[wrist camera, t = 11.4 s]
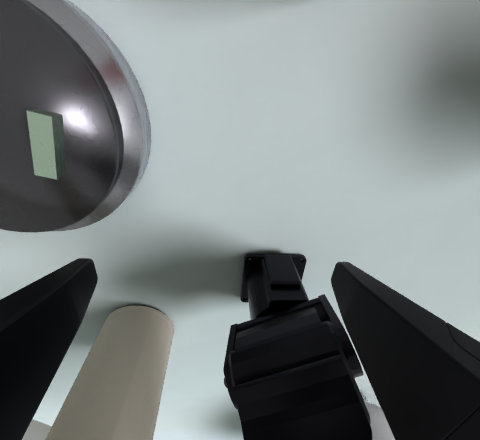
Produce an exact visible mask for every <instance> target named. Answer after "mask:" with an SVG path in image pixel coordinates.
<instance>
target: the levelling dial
mask: <svg viewBox="0 0 480 440" xmlns="http://www.w3.org/2000/svg"><path fill="white" fill-rule="evenodd" d="M123 157H124V137H123V131H122V125H121V121H120V117H119V114H118V110H117V107H116V105H115V102H114V100H113V97H112V95H111V92H110V90H109V89H108V87H107V85H106V83H105V81H104V79H103V77H102V75H101V74H100V72H99V71H98V69H97V68H96V66H95V65H94V64H93V62H92V61H91V59H90V58H89V57H88V55H87V54H86V53H85V52H84V50H83V49H82V48H81V47H80V45H79V44H78V43H77V42H76V41H75V40H74V39H73V38H72V37H71V36H70V35H69V34H68V33H67V32H66V31H65V30H64V29H63V28H62V27H61V26H60V25H59V24H58V23H57V22H55V21H54V20H53V19H52V18H51V17H49V16H48V15H47V14H46V13H45V12H43V11H42V10H41V9H39V8H38V7H36V6H35V5H33V4H32V3H30V2H29V1H27V0H0V229H4V230H9V231H18V232H45V231H52V230H57V229H61V228H64V227H67V226H70V225H73V224H75V223H76V222H78V221H80V220H82V219H84V218H85V217H86V216H88V215H89V214H90V213H92V212H93V211H94V210H95V209H96V208H97V207H98V206H99V205H100V204H101V203H102V202H103V201H104V200H105V199H106V198H107V197H108V196H109V194H110V193H111V191H112V190H113V189H114V187H115V185H116V183H117V181H118V179H119V176H120V173H121V169H122V165H123Z"/></svg>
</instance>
